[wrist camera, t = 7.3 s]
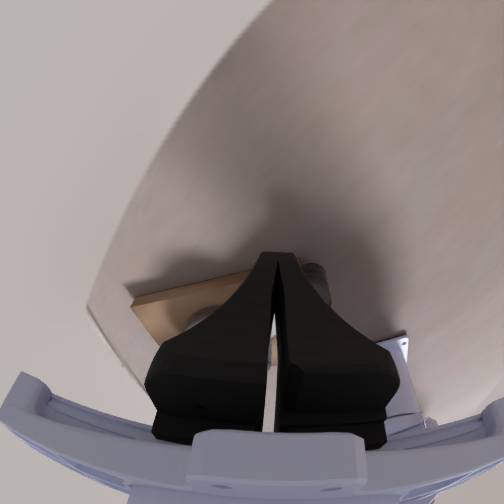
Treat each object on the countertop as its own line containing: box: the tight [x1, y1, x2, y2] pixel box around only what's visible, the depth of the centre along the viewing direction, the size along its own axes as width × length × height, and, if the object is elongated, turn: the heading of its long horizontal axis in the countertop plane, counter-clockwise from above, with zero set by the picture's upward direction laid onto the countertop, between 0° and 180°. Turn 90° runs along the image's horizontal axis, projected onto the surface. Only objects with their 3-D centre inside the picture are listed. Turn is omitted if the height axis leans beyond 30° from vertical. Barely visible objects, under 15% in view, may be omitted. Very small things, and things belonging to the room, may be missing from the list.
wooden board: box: [130, 258, 301, 366], centre depth 26 cm, size 11×16×2 cm
